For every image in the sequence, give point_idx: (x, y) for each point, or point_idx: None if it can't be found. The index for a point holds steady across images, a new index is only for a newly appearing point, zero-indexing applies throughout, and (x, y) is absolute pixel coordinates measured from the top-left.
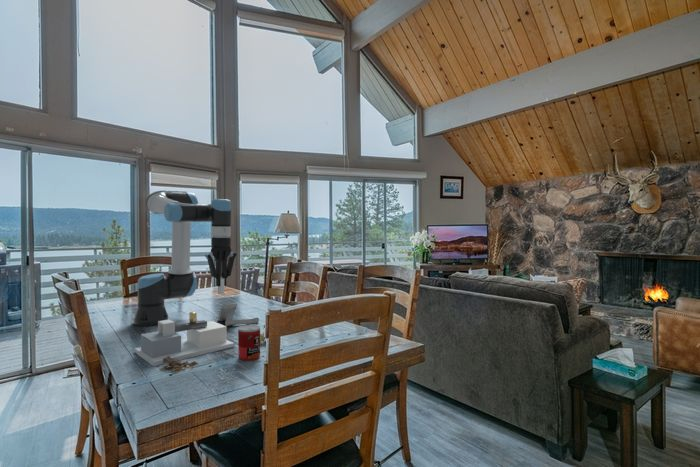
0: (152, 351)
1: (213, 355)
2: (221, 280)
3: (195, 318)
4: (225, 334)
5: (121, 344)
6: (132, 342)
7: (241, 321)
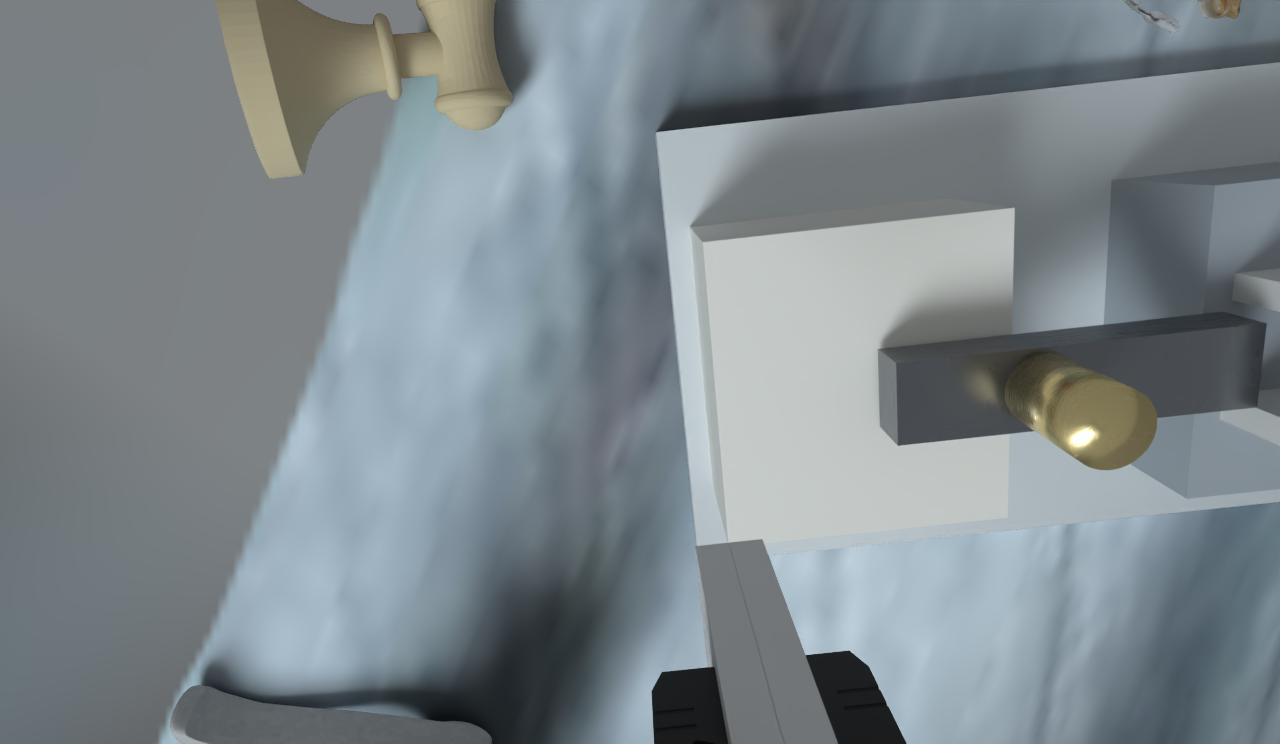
0: None
1: (892, 9)
2: (813, 718)
3: (1060, 371)
4: (707, 231)
5: (1276, 724)
6: (1204, 728)
7: (344, 731)
